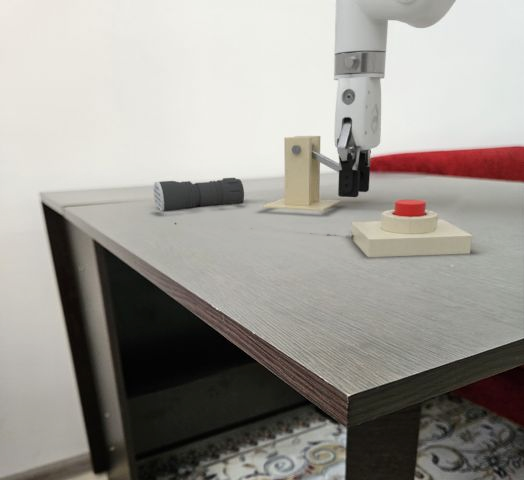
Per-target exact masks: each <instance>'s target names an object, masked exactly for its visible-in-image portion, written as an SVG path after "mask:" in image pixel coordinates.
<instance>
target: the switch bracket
mask: <svg viewBox="0 0 524 480" xmlns="http://www.w3.org/2000/svg"><path fill="white" fill-rule="evenodd" d="M283 141H284V143H283V144H284V146H283V147H284V149H283V150H284V151H283V152H284V197H283V198H279V199H277V200H274V201H271V202H269V203H266V204H263V205H262V206H261V207H262V208H263V209H281V210H282V209H283V210H297V211H298V210H301V211H317V212H318V211H319V212H324V211H326V210H328V209H331V208H333V207H334V206H336V205H338V204H341V203H342V200H341V199H320V188H321V187H320V183H321V182H320V181H321V163H320V162H319V161H317V160H315V159H313V158H311V157H312V143H313V144H314V145H315V146H314V148H313V150H314V151H316V152H318V153H320V154H321V135H295V136H287V137H284V140H283Z"/></svg>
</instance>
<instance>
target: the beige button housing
mask: <svg viewBox="0 0 524 480" xmlns="http://www.w3.org/2000/svg"><path fill="white" fill-rule="evenodd" d="M394 211H395V208H394V209H388V210H385V211H383V212H381V213H380V220H378V221H377V220H376V221H374V220H373V221H352V222H351V236H350V238H351V240H352V241H353V242H354V243H355V245H356V246H357V247H358V248H359V249H360V250H361V251H362V252H363V254H364V255H365V256H366V257H367V258H385V257H387V258H388V257H411V256H433V255H434V256H435V255H439V256H441V255H465V254H466V255H467V254H471V249H472V241H473V234H470V233H469V232H467V231H465V230H463V229H462V228H460V227H457V226H456V225H454V224H452V223H451V222H448V221H446V220H444V219H443V218H439V213H437V212H435V211H433V210H428V209H425V216H420V217H405V216H397V215H394Z"/></svg>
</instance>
